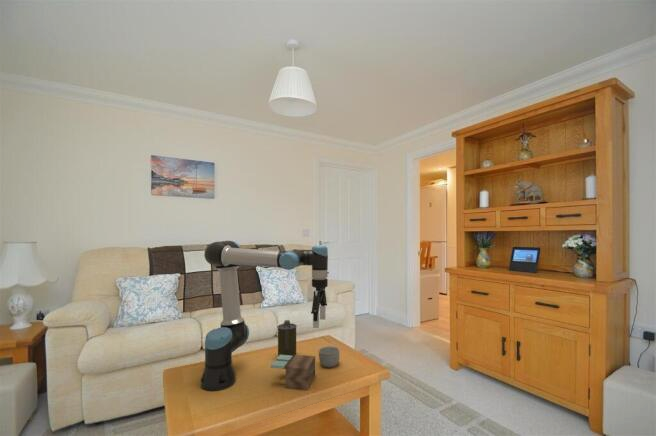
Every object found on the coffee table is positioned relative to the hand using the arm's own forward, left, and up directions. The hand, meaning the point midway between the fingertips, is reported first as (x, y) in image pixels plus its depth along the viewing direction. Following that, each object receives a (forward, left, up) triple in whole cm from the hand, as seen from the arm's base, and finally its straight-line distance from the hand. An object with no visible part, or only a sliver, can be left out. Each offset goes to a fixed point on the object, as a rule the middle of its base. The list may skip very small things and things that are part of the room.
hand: (319, 323), depth 150 cm
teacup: (+1, +17, -26) cm, 31 cm away
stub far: (-17, -2, -18) cm, 24 cm away
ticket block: (-8, -5, -26) cm, 27 cm away
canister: (-23, +19, -26) cm, 39 cm away
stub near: (-17, -8, -18) cm, 26 cm away
